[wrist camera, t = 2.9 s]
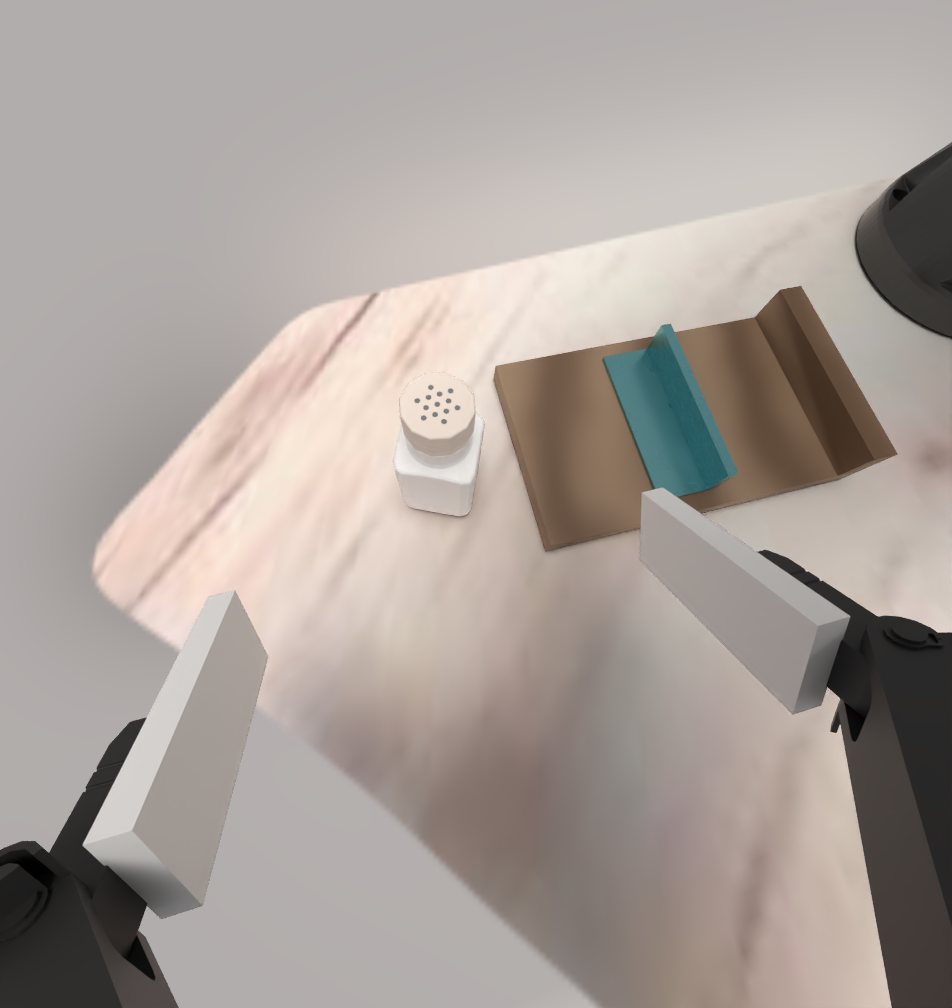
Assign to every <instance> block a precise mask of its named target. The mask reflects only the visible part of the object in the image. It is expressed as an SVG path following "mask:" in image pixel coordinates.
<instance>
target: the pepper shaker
mask: <svg viewBox="0 0 952 1008" xmlns="http://www.w3.org/2000/svg"><path fill="white" fill-rule="evenodd" d="M399 407H400V419H401V423H402V424H401V428H400V432H399V436H398V440H397V445H396V449H395V455H394V460H393V463H394V468H395V472H396V476H397V479H398V482H399V485H400V488H401V491H402V494H403V497H404V500H405V503H406V505H408V506H410V507H411V508H414V509H420V510H425V511H431V512H437V513H442V514H448V515H454V516H464V515H467V514H468V512H469V511H470V509H471V505H472V500H473V494H474V489H475V483H476V478H477V472H478V467H479V460H480V453H481V446H482V439H483V432H484V425H485V424H484V421H483V418H482V417H481V416H480V415H479V414H477V413H476V410H475V400H474V394H473V393H472V391H471V390H470V389H469V388H468V386H467V385H466V384H465V383H464V381H463V380H462V379H459V378H457V377H455V376H452V375H450V374H448V373H445V372H439V373H425V374H423V375H421V376H419V377H418V378H416V379H414V380H412V381H411V382H409V383H408V384H407V386H406V388H405V389H404V391H403V393H402V395H401V396H400V398H399Z"/></svg>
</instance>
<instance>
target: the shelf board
mask: <svg viewBox="0 0 952 1008" xmlns="http://www.w3.org/2000/svg"><path fill="white" fill-rule="evenodd" d="M675 335H676V337H677V339H678V341H679V343H680V346H681V348H682V350H683V352H684V354H685V357H686V359H687V361H688V363H689V365H690V368H691V370H692V372H693V374H694V376H695V379H696V381H697V383H698V385H699V387H700V390H701V392H702V394H703V396H704V398H705V401H706V403H707V405H708V407H709V409H710V412H711V414H712V416H713V418H714V420H715V423H716V425H717V427H718V429H719V431H720V434H721V436H722V438H723V440H724V442H725V445H726V447H727V449H728V451H729V453H730V456H731V458H732V460H733V462H734V464H735V467H736V469H737V471H738V473H739V474H737V475H736V476H734V477H732V478H731V479H729V480H727V481H726V482H724V483H722V484H721V485H719V486H717V487H716V488H714V489H712V490H707V491H703V492H699V493H695V494H691V495H686V496H682V497H678V498H679V499H680V500H682V501H683V502H685V503H686V504H688V505H689V506H691V507H692V508H694V509H695V510H696V511H698V512H699V513H704V512H708V511H712V510H717V509H721V508H725V507H729V506H733V505H737V504H741V503H745V502H749V501H754V500H758V499H762V498H766V497H770V496H774V495H778V494H782V493H786V492H790V491H795V490H799V489H803V488H807V487H811V486H815V485H819V484H823V483H827V482H831V481H836V480H839V479H842V478H844V477H846V476H849V475H851V474H853V473H855V472H858V471H860V470H862V469H865V468H867V467H869V466H872V465H874V464H876V463H879V462H881V461H883V460H885V459H888V458H890V457H892V456H895V455H897V452H896V451H895V449H894V447H893V445H892V444H891V442H890V440H889V438H888V437H887V435H886V433H885V431H884V430H883V428H882V426H881V424H880V423H879V421H878V419H877V418H876V416H875V414H874V412H873V411H872V409H871V407H870V405H869V404H868V402H867V400H866V398H865V397H864V395H863V393H862V391H861V390H860V388H859V386H858V384H857V383H856V381H855V379H854V378H853V376H852V374H851V372H850V371H849V369H848V367H847V365H846V364H845V362H844V360H843V358H842V357H841V355H840V353H839V351H838V350H837V348H836V346H835V344H834V343H833V341H832V339H831V337H830V336H829V334H828V332H827V331H826V329H825V327H824V325H823V324H822V322H821V320H820V318H819V317H818V315H817V313H816V311H815V310H814V308H813V306H812V304H811V303H810V301H809V299H808V297H807V296H806V294H805V292H804V290H803V289H802V287H801V286H798V287H793V288H787V289H782V290H780V291H779V292H778V293H777V294H776V295H775V296H774V297H773V298H772V299H771V300H770V301H769V303H768V304H767V305H766V306H765V307H764V308H763V309H762V310H761V311H760V312H759V313H758V315H757V316H756V317H755V318H750V319H744V320H739V321H734V322H728V323H723V324H718V325H712V326H707V327H702V328H696V329H691V330H686V331H680V332H675ZM653 338H654V337H648V338H643V339H638V340H632V341H627V342H622V343H616V344H611V345H606V346H600V347H595V348H590V349H584V350H579V351H574V352H568V353H563V354H558V355H552V356H547V357H542V358H536V359H531V360H526V361H520V362H515V363H510V364H504V365H499V366H496V368H495V374H494V382H495V386H496V389H497V392H498V396H499V399H500V402H501V405H502V409H503V412H504V415H505V419H506V422H507V425H508V429H509V432H510V435H511V439H512V442H513V445H514V448H515V452H516V455H517V458H518V462H519V465H520V468H521V472H522V475H523V478H524V481H525V485H526V488H527V491H528V495H529V498H530V501H531V505H532V508H533V511H534V515H535V518H536V521H537V524H538V528H539V531H540V534H541V538H542V541H543V544H544V548H545V551H548V550H552V549H557V548H561V547H565V546H569V545H573V544H577V543H581V542H585V541H589V540H594V539H598V538H602V537H606V536H610V535H614V534H618V533H622V532H626V531H630V530H635V529H639V528H641V501H642V492H646V491H650V490H653V489H652V487H651V484H650V482H649V479H648V477H647V474H646V471H645V469H644V466H643V464H642V461H641V459H640V456H639V453H638V451H637V448H636V446H635V443H634V441H633V438H632V436H631V433H630V430H629V428H628V425H627V423H626V420H625V418H624V415H623V412H622V410H621V407H620V405H619V402H618V400H617V397H616V394H615V392H614V389H613V387H612V384H611V382H610V379H609V377H608V374H607V371H606V369H605V366H604V364H603V361H602V359H603V357H606V356H611V355H616V354H622V353H627V352H632V351H637V350H643V349H647V347H648V346H649V344H650V343H651V341H652V339H653Z"/></svg>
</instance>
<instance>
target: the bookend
mask: <svg viewBox="0 0 952 1008" xmlns="http://www.w3.org/2000/svg"><path fill="white" fill-rule="evenodd" d="M602 361H603V364H604V366H605V369H606V371H607V374H608V377H609V379H610V382H611V384H612V387H613V389H614V392H615V394H616V397H617V400H618V402H619V405H620V407H621V410H622V412H623V415H624V418H625V420H626V423H627V425H628V428H629V430H630V433H631V436H632V438H633V441H634V443H635V446H636V448H637V451H638V453H639V456H640V459H641V461H642V464H643V466H644V469H645V471H646V474H647V477H648V479H649V482H650V484H651V487H652V489H653V490H654V489H658V488H662V487H663V488H664V489H666V490H667V491H669V492H670V493H672V494H673V495H675V496H676V497H682V496H686V495H691V494H695V493H699V492H703V491H707V490H712V489H714V488H716V487H717V486H719V485H721V484H722V483H724V482H726V481H727V480H729V479H731V478H732V477H734V476H736V475H737V474H739V473H738V471H737V469H736V467H735V464H734V462H733V460H732V458H731V456H730V453H729V451H728V449H727V447H726V445H725V442H724V440H723V438H722V436H721V434H720V431H719V429H718V427H717V425H716V423H715V420H714V418H713V416H712V414H711V412H710V409H709V407H708V405H707V403H706V401H705V398H704V396H703V394H702V392H701V390H700V387H699V385H698V383H697V381H696V379H695V376H694V374H693V372H692V370H691V368H690V365H689V363H688V361H687V359H686V357H685V354H684V352H683V350H682V348H681V346H680V343H679V341H678V339H677V337H676V335H675V332H674V330H673V328H672V326H671V324H667V325H662V326H661V327H660V329H659V330H658V332H657V333H656V335H655V336H654V338H653V339H652V341H651V343H650V344H649V346H648V347H647V349H643V350H637V351H632V352H627V353H622V354H616V355H611V356H606V357H603V359H602Z"/></svg>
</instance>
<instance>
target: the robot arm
mask: <svg viewBox="0 0 952 1008" xmlns="http://www.w3.org/2000/svg"><path fill="white" fill-rule="evenodd" d="M857 247H858V252H859V256H860V259H861V261H862V264H863V266H864V268H865V270H866V272H867V274H868V275H869V277H870V279H871V280H872V281H873V283H874V284H875V285H876V287H877V288H878V289H879V290H880V292H881V293H882V294H883V295H884V296H885V297H886V298H887V299H888V300H889V301H890V302H891V303H892V304H894V305H895V306H896V307H897V308H898V309H900V310H901V311H902V312H904V313H905V314H906V315H908V316H909V317H911V318H912V319H914V320H916V321H917V322H919V323H921V324H923V325H924V326H926V327H928V328H930V329H933V330H935V331H937V332H940V333H942V334H945V335H948V336H951V337H952V142H951V143H950V144H948V145H947V146H946V147H944V148H943V149H941V150H939V151H938V152H937V153H935V154H934V155H932V156H931V157H929V158H928V159H926V160H925V161H923V162H922V163H920V164H919V165H917V166H916V167H914V168H913V169H911V170H910V171H908V172H907V173H905V174H904V175H902V176H901V177H899V178H898V179H897V180H896V181H895V182H893V183H892V184H891V185H890V186H889V187H888V188H887V189H886V190H885V191H884V192H883V193H882V194H881V195H880V196H879V198H878V199H877V200H876V201H875V202H874V203H873V204H872V205H871V206H870V207H869V208H868V209H867V210H866V212H865V213H864V214H863V216H862V218H861V220H860V222H859V226H858V230H857ZM639 560H640V561H641V562H642V563H643V564H644V565H645V566H646V567H647V568H648V569H649V570H650V571H651V572H652V573H653V574H654V575H655V576H656V577H657V578H658V579H659V580H660V581H661V582H662V583H663V584H664V585H665V586H666V587H667V588H668V589H669V590H670V591H671V592H672V593H673V594H674V595H675V596H676V597H677V598H678V599H679V600H680V601H681V602H682V603H683V604H684V605H685V606H686V607H687V608H688V609H689V610H690V611H691V612H692V613H693V614H694V615H695V616H696V617H697V618H698V619H699V620H700V621H701V622H702V623H703V624H704V625H705V626H706V628H707V629H708V630H709V631H710V632H711V633H712V634H713V635H714V636H715V637H716V638H717V639H718V640H719V641H720V642H721V643H722V644H723V645H724V646H725V647H726V648H727V649H728V650H729V651H730V652H731V653H732V654H733V655H734V656H735V657H736V658H737V659H738V660H739V661H740V662H741V663H742V664H743V665H744V666H745V667H746V668H747V669H748V670H749V671H750V672H751V673H752V674H753V675H754V676H755V677H756V678H757V679H758V680H759V681H760V682H761V683H762V684H763V685H764V686H765V687H766V688H767V689H768V690H769V691H770V692H771V693H772V694H773V695H774V696H775V697H776V698H777V699H778V700H779V701H780V702H781V703H782V704H783V705H784V706H785V707H786V708H787V709H788V710H789V711H790V712H791V713H792V714H796V713H799V712H802V711H805V710H808V709H811V708H814V707H817V706H820V705H821V704H822V701H823V698H824V695H825V692H826V689H827V687H828V688H829V689H830V690H832V691H833V692H834V693H835V694H836V695H837V696H838V697H840V701H839V704H838V707H837V710H836V712H835V715H834V718H833V721H832V724H831V732H834V733H837V730H838V727H839V725H840V724H841V729H842V734H843V740H844V745H845V751H846V757H847V762H848V768H849V773H850V779H851V784H852V790H853V795H854V801H855V806H856V812H857V817H858V823H859V828H860V834H861V839H862V845H863V851H864V856H865V862H866V867H867V873H868V878H869V884H870V889H871V895H872V900H873V906H874V911H875V917H876V922H877V928H878V933H879V939H880V945H881V950H882V956H883V961H884V967H885V972H886V978H887V983H888V989H889V994H890V1000H891V1005H892V1008H952V633H937V632H936V631H935V630H933V629H932V628H930V627H928V626H926V625H923V624H921V623H919V622H917V621H914V620H910V619H906V618H902V617H896V616H880V617H878V616H876V615H874V614H873V613H871V612H870V611H868V610H867V609H865V608H864V607H862V606H861V605H859V604H857V603H856V602H854V601H853V600H851V599H850V598H848V597H847V596H845V595H844V594H842V593H841V592H839V591H837V590H836V589H834V588H833V587H831V586H830V585H828V584H827V583H825V582H824V581H820V580H819V578H818V577H816V576H814V575H813V574H811V573H810V572H806V571H805V569H804V568H802V567H801V566H799V565H798V564H796V563H794V562H793V561H791V560H790V559H788V558H786V557H784V556H781V555H778V554H776V553H773V552H770V551H768V550H763V551H759V552H756V551H755V550H753V549H752V548H750V547H749V546H747V545H746V544H745V543H743V542H742V541H740V540H739V539H737V538H736V537H734V536H733V535H731V534H730V533H728V532H727V531H726V530H724V529H723V528H721V527H720V526H718V525H717V524H715V523H714V522H712V521H711V520H710V519H708V518H707V517H705V516H704V515H702V514H701V513H699V512H698V511H696V510H695V509H694V508H692V507H691V506H689V505H688V504H686V503H685V502H683V501H682V500H680V499H679V498H678V497H676V496H675V495H673V494H672V493H670V492H669V491H667V490H666V489H664V488H663V487H662V488H658V489H654V490H650V491H646V492H642V501H641V529H640V558H639ZM267 660H268V655H267V653H266V651H265V649H264V647H263V645H262V643H261V641H260V639H259V637H258V635H257V633H256V631H255V629H254V627H253V625H252V623H251V621H250V619H249V617H248V615H247V613H246V611H245V609H244V607H243V605H242V603H241V601H240V599H239V597H238V595H237V593H236V591H235V590H234V591H230V592H226V593H222V594H218V595H213V596H209V597H208V598H207V600H206V602H205V604H204V606H203V608H202V610H201V612H200V614H199V616H198V618H197V620H196V622H195V624H194V626H193V628H192V630H191V632H190V634H189V636H188V637H187V639H186V641H185V643H184V645H183V647H182V649H181V651H180V653H179V655H178V657H177V659H176V661H175V663H174V665H173V667H172V669H171V671H170V673H169V675H168V677H167V679H166V681H165V683H164V685H163V687H162V689H161V691H160V693H159V695H158V697H157V699H156V701H155V703H154V705H153V707H152V709H151V711H150V713H149V715H148V717H147V718H143V719H139V720H136V721H132V722H130V723H129V724H128V725H127V726H126V727H125V728H124V729H123V730H122V731H121V733H120V734H119V735H118V736H117V737H116V738H115V739H114V740H113V741H112V743H111V744H110V745H109V746H108V748H107V750H106V752H105V754H104V755H103V757H102V759H101V761H100V763H99V764H98V766H97V772H94V773H93V775H92V777H91V779H90V781H89V782H88V784H87V786H86V792H83V793H82V795H81V797H80V799H79V800H78V802H77V804H76V806H75V807H74V809H73V811H72V813H71V815H70V816H69V818H68V820H67V822H66V824H65V825H64V827H63V829H62V831H61V832H60V834H59V836H58V838H57V840H56V841H55V843H54V845H53V847H52V849H51V851H50V852H49V853H48V852H47V851H46V850H45V849H43V848H42V847H41V846H40V845H39V844H38V843H36V842H35V841H21V842H19V843H16V844H13V845H11V846H8V847H5V848H3V849H1V850H0V1008H178V1005H177V1003H176V1001H175V1000H174V997H173V995H172V993H171V991H170V988H169V987H168V984H167V982H166V980H165V978H164V976H163V973H162V971H161V969H160V967H159V965H158V963H157V961H156V959H155V956H154V954H153V952H152V950H151V948H150V946H149V944H148V942H147V939H146V937H145V936H144V935H143V934H142V933H140V932H139V931H138V929H139V926H140V923H141V920H142V918H143V915H144V912H145V909H146V906H148V907H149V908H150V909H151V910H152V911H153V912H154V913H155V914H156V915H157V916H159V917H160V918H161V919H163V918H167V917H170V916H173V915H176V914H178V913H182V912H185V911H188V910H191V909H194V908H197V907H200V906H203V903H204V899H205V895H206V892H207V888H208V884H209V880H210V876H211V872H212V869H213V865H214V861H215V858H216V853H217V850H218V846H219V842H220V839H221V835H222V831H223V827H224V823H225V820H226V815H227V812H228V808H229V804H230V800H231V797H232V793H233V789H234V785H235V782H236V777H237V774H238V770H239V766H240V763H241V759H242V755H243V751H244V747H245V744H246V739H247V736H248V732H249V728H250V724H251V721H252V717H253V713H254V709H255V706H256V702H257V698H258V694H259V690H260V687H261V683H262V679H263V675H264V671H265V668H266V664H267Z"/></svg>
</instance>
